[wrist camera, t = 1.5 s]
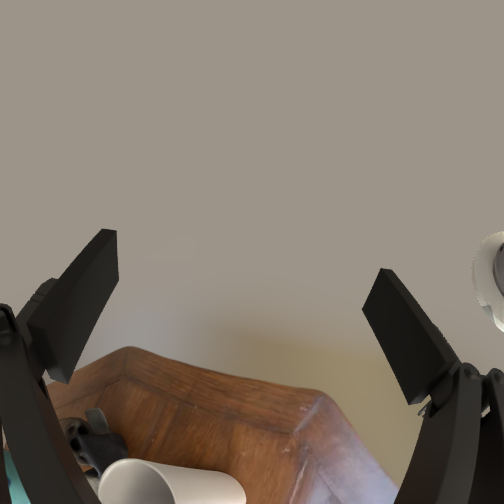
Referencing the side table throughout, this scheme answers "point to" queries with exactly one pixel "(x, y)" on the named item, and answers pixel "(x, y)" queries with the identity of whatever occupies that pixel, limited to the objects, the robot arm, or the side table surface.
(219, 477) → the cup
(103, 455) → the grey two-tone handled device
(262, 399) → the side table surface
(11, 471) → the vase
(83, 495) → the robot arm
